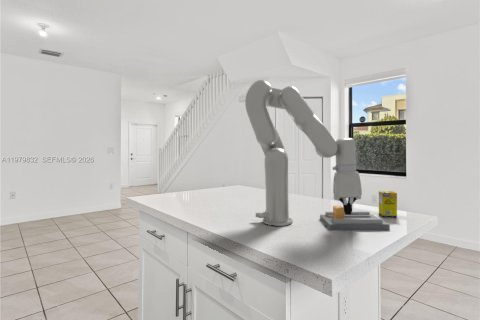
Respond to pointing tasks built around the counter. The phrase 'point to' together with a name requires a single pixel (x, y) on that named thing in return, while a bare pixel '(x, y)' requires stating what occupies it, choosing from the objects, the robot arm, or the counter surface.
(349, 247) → the counter surface
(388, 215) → the supplement box
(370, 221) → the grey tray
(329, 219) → the breaker panel
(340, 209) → the block
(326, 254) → the counter surface
